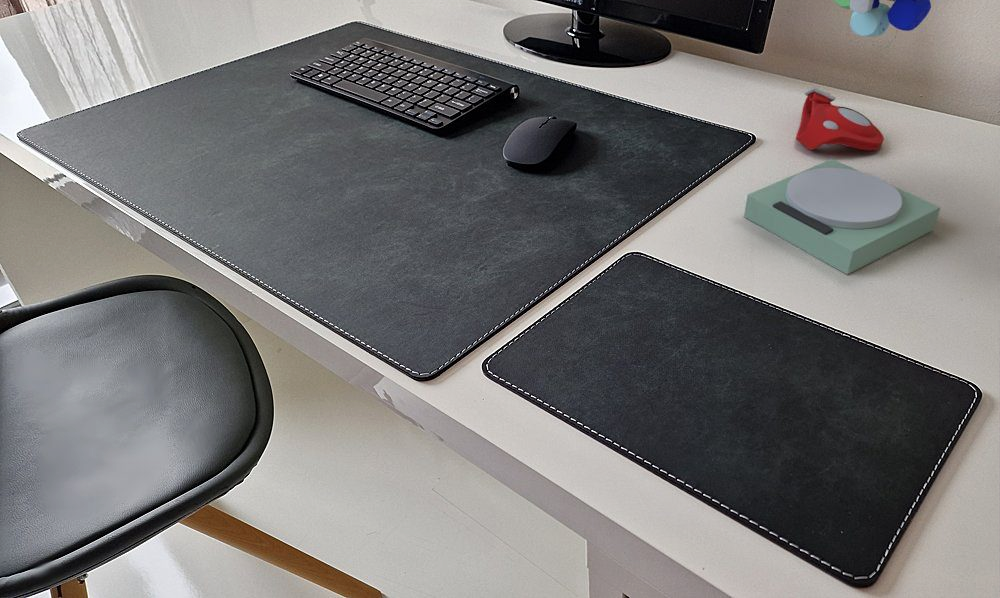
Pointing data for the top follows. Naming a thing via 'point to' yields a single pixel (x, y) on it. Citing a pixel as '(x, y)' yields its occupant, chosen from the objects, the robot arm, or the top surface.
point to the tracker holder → (835, 124)
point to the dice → (888, 17)
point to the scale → (841, 214)
